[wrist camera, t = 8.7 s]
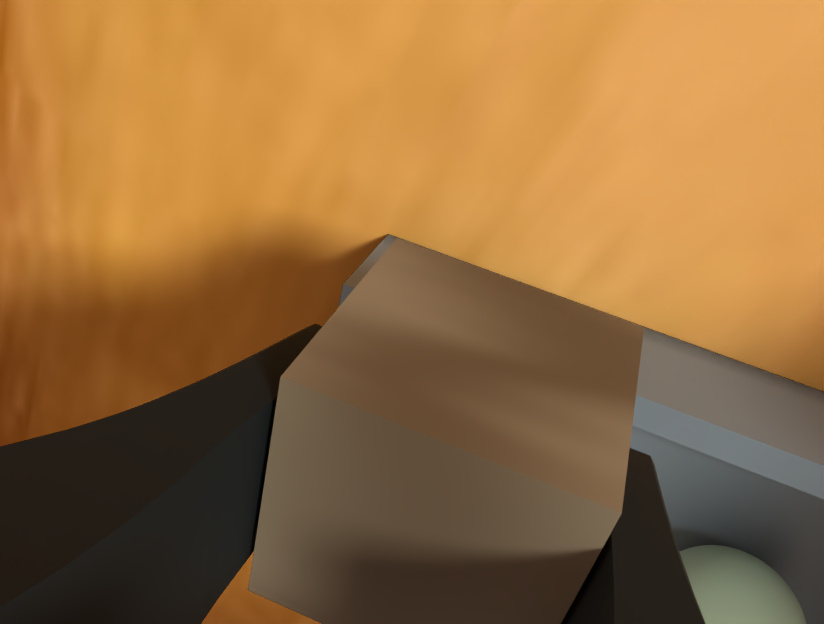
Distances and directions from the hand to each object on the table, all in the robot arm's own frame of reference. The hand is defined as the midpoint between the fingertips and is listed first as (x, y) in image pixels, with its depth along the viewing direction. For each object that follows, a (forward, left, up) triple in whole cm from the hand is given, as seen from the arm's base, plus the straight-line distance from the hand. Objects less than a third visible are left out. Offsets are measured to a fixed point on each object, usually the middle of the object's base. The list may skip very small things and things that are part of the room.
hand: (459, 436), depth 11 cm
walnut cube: (0, 0, -2) cm, 2 cm away
